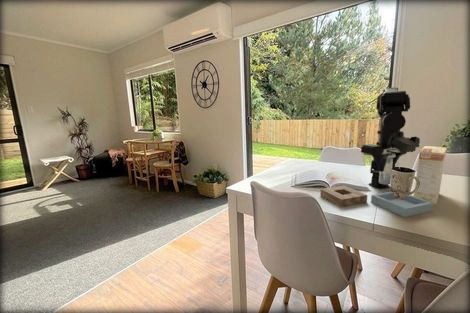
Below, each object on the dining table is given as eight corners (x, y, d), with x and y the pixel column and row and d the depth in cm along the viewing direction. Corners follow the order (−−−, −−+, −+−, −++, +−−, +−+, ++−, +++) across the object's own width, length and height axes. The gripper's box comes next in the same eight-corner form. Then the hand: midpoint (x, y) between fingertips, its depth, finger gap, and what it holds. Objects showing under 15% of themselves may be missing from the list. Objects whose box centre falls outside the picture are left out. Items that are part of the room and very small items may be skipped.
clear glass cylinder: (383, 180, 86) (387, 151, 84) (395, 184, 82) (399, 153, 79) (373, 181, 85) (376, 152, 83) (385, 185, 80) (388, 155, 78)
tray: (396, 197, 91) (397, 190, 90) (432, 211, 78) (433, 203, 78) (370, 202, 87) (371, 194, 86) (404, 217, 75) (405, 208, 74)
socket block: (343, 191, 98) (344, 185, 98) (366, 202, 87) (367, 195, 86) (320, 195, 95) (320, 188, 94) (341, 207, 84) (341, 199, 83)
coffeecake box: (418, 189, 98) (424, 145, 94) (440, 193, 93) (447, 147, 89) (412, 200, 88) (418, 151, 84) (436, 205, 83) (444, 153, 79)
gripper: (390, 132, 69) (385, 180, 73) (435, 128, 74) (428, 174, 77) (361, 129, 80) (358, 171, 83) (402, 126, 84) (397, 166, 88)
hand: (385, 171), depth 82 cm, fingers closed on clear glass cylinder, 4 cm apart
